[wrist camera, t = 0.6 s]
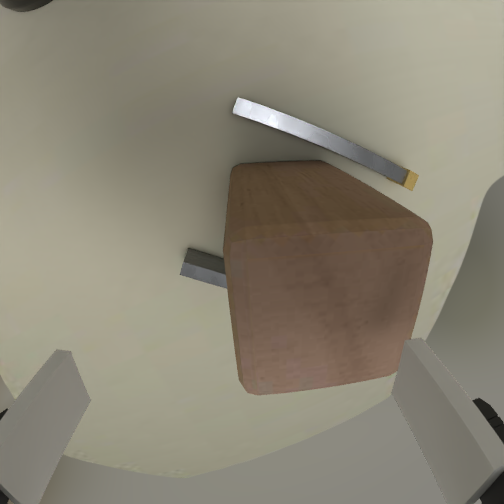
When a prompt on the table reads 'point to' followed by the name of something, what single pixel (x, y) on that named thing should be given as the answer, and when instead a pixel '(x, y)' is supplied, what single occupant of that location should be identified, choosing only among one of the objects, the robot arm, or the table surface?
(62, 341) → the table surface
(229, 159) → the table surface
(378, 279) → the wooden block
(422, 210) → the table surface
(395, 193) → the table surface
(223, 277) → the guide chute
